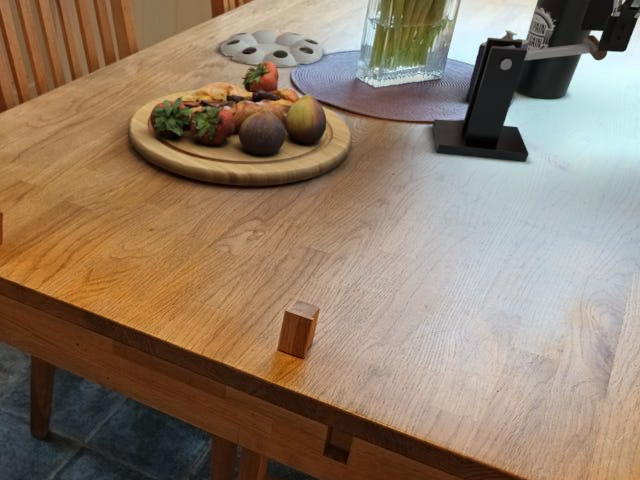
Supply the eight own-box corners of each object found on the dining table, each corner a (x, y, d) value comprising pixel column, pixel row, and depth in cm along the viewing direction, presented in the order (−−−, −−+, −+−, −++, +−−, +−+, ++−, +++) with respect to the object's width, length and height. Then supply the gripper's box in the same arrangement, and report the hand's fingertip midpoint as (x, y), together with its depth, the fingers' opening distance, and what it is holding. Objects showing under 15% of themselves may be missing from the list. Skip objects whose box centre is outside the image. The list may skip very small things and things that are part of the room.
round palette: (199, 51, 137) (200, 40, 136) (258, 31, 149) (259, 20, 148) (285, 74, 128) (287, 62, 126) (341, 50, 139) (343, 39, 138)
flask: (504, 93, 122) (526, 25, 115) (517, 99, 119) (539, 30, 113) (460, 99, 119) (479, 31, 112) (472, 105, 117) (493, 36, 110)
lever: (594, 49, 97) (597, 31, 95) (605, 63, 92) (609, 43, 91) (488, 61, 100) (489, 43, 99) (493, 75, 96) (495, 56, 95)
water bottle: (496, 81, 126) (542, -70, 112) (551, 79, 127) (604, -70, 113) (525, 101, 119) (579, -58, 104) (583, 99, 120) (644, -58, 105)
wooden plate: (205, 88, 121) (207, 36, 116) (384, 132, 107) (396, 75, 102) (82, 149, 101) (79, 89, 96) (284, 213, 87) (293, 148, 82)
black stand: (515, 134, 107) (547, 37, 99) (525, 161, 100) (562, 58, 91) (432, 126, 109) (457, 30, 101) (436, 152, 102) (464, 51, 93)
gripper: (721, -108, 75) (652, 61, 86) (669, -125, 88) (615, 24, 99) (643, -109, 77) (585, 58, 87) (603, -126, 90) (557, 21, 100)
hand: (601, 40), depth 93 cm, fingers open, 9 cm apart
